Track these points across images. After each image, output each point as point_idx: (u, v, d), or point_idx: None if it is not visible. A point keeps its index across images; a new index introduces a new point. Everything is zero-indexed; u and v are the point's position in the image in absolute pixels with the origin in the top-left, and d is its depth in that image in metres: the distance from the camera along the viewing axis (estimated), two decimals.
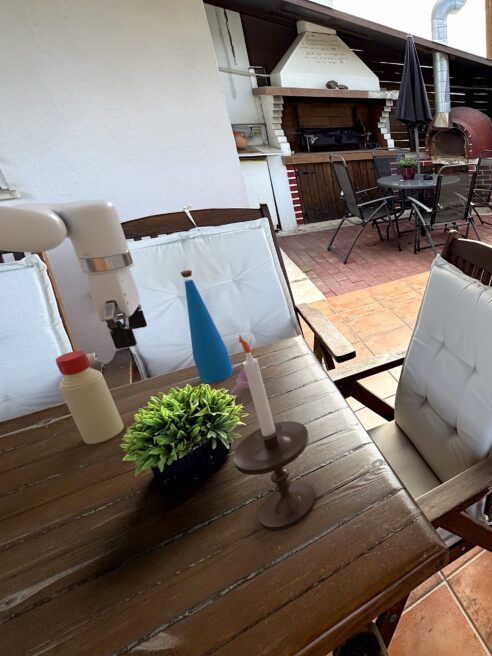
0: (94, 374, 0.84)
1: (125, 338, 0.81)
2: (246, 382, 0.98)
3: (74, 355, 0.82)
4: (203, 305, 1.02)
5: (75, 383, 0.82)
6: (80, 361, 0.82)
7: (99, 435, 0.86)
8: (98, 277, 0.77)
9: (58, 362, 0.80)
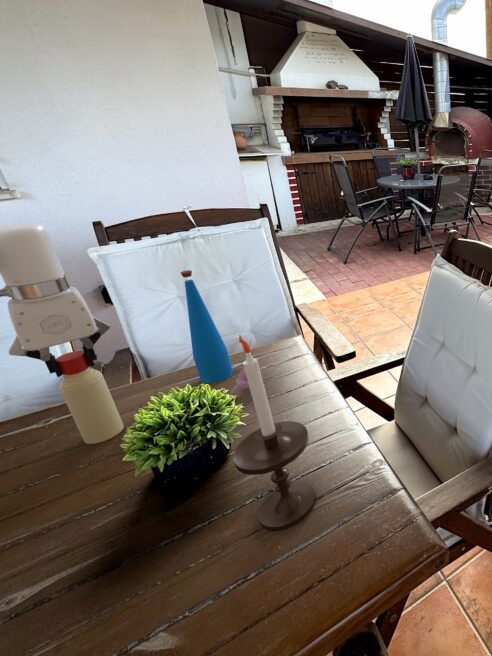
0: (94, 374, 0.84)
1: None
2: (246, 382, 0.98)
3: (74, 355, 0.82)
4: (203, 305, 1.02)
5: (75, 383, 0.82)
6: (80, 361, 0.82)
7: (99, 435, 0.86)
8: (77, 290, 0.80)
9: (58, 362, 0.80)
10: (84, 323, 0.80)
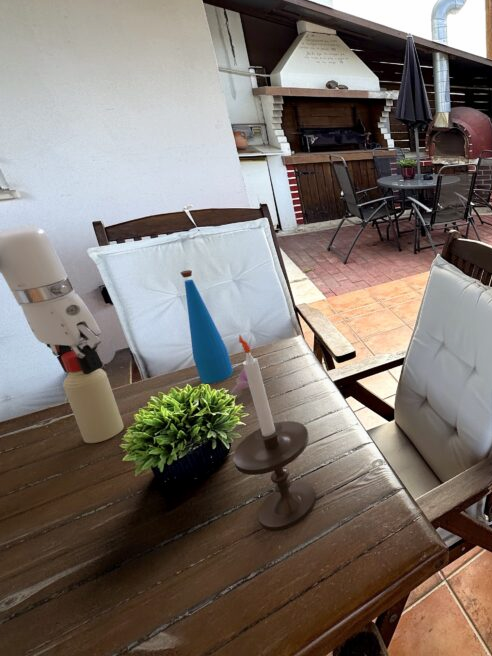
0: (98, 372, 0.85)
1: None
2: (246, 382, 0.98)
3: None
4: (203, 305, 1.02)
5: (79, 381, 0.82)
6: None
7: (99, 434, 0.86)
8: None
9: None
10: None
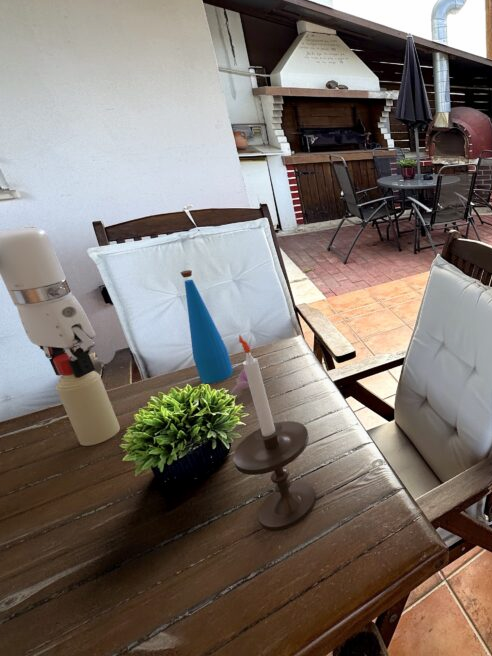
0: (91, 375, 0.84)
1: None
2: (246, 382, 0.98)
3: None
4: (203, 305, 1.02)
5: (72, 384, 0.81)
6: None
7: (95, 437, 0.85)
8: None
9: None
10: None
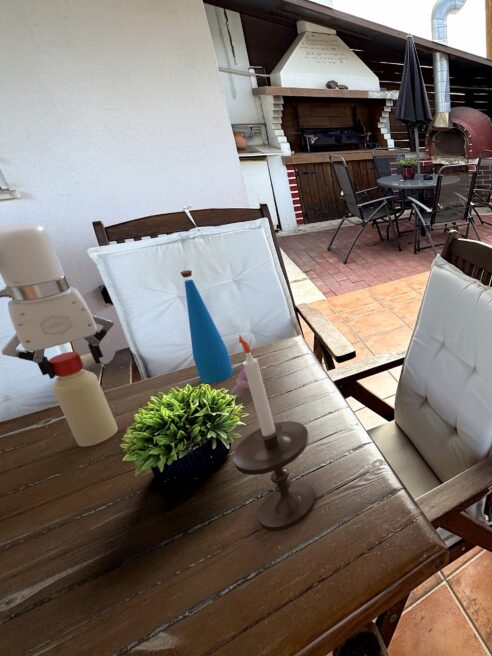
0: (88, 376, 0.84)
1: None
2: (246, 382, 0.98)
3: (64, 355, 0.82)
4: (203, 305, 1.02)
5: (68, 385, 0.81)
6: None
7: (93, 438, 0.85)
8: (77, 290, 0.80)
9: (77, 356, 0.82)
10: (84, 323, 0.81)
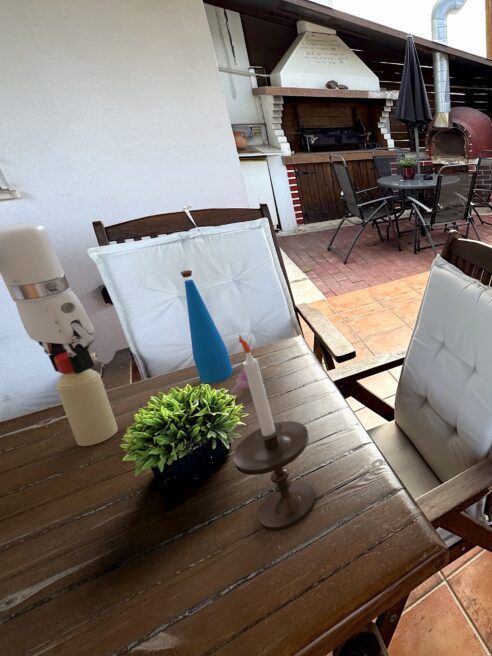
0: (92, 374, 0.84)
1: None
2: (246, 382, 0.98)
3: (64, 355, 0.81)
4: (203, 305, 1.02)
5: (73, 383, 0.81)
6: (56, 362, 0.80)
7: (93, 437, 0.85)
8: None
9: None
10: None
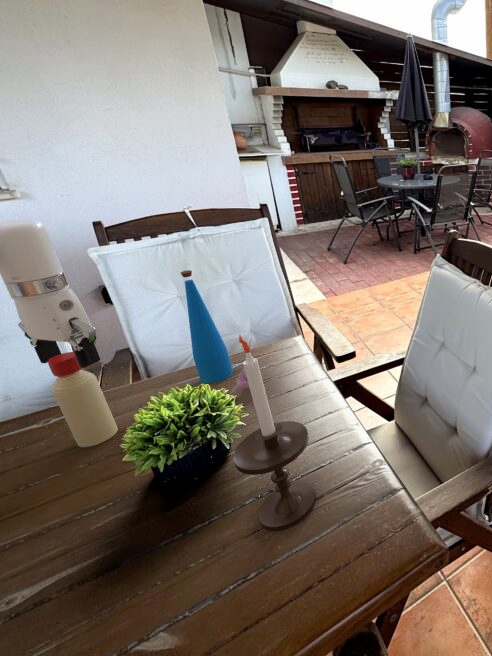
0: (87, 376, 0.83)
1: None
2: (246, 382, 0.98)
3: (58, 358, 0.80)
4: (203, 305, 1.02)
5: (68, 386, 0.81)
6: (50, 366, 0.80)
7: (93, 438, 0.85)
8: None
9: None
10: None
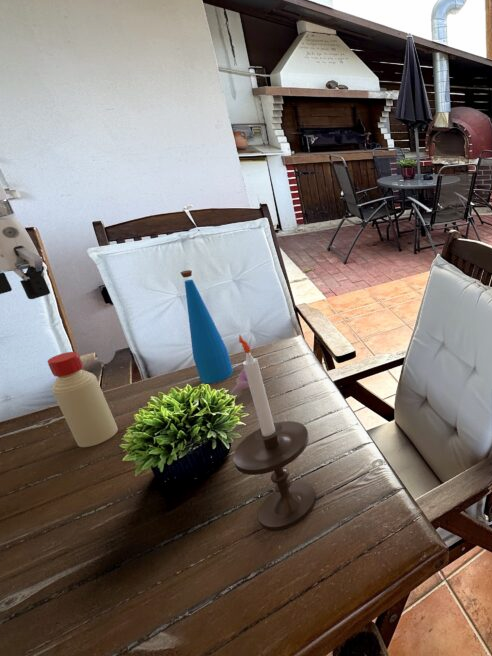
0: (87, 376, 0.83)
1: None
2: (246, 382, 0.98)
3: (58, 358, 0.80)
4: (203, 305, 1.02)
5: (68, 386, 0.81)
6: (50, 366, 0.80)
7: (93, 438, 0.85)
8: None
9: None
10: None
